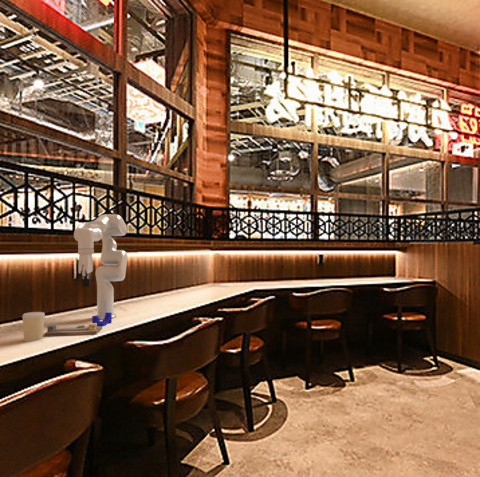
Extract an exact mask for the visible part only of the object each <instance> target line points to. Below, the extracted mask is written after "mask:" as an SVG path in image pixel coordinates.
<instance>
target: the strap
mask: <svg viewBox="0 0 480 477" xmlns="http://www.w3.org/2000/svg"><path fill="white" fill-rule="evenodd" d="M87 329H89V325H85V324H84V325H77V326H58V327H57V328H56V329H55V331H64V330H87Z"/></svg>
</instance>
